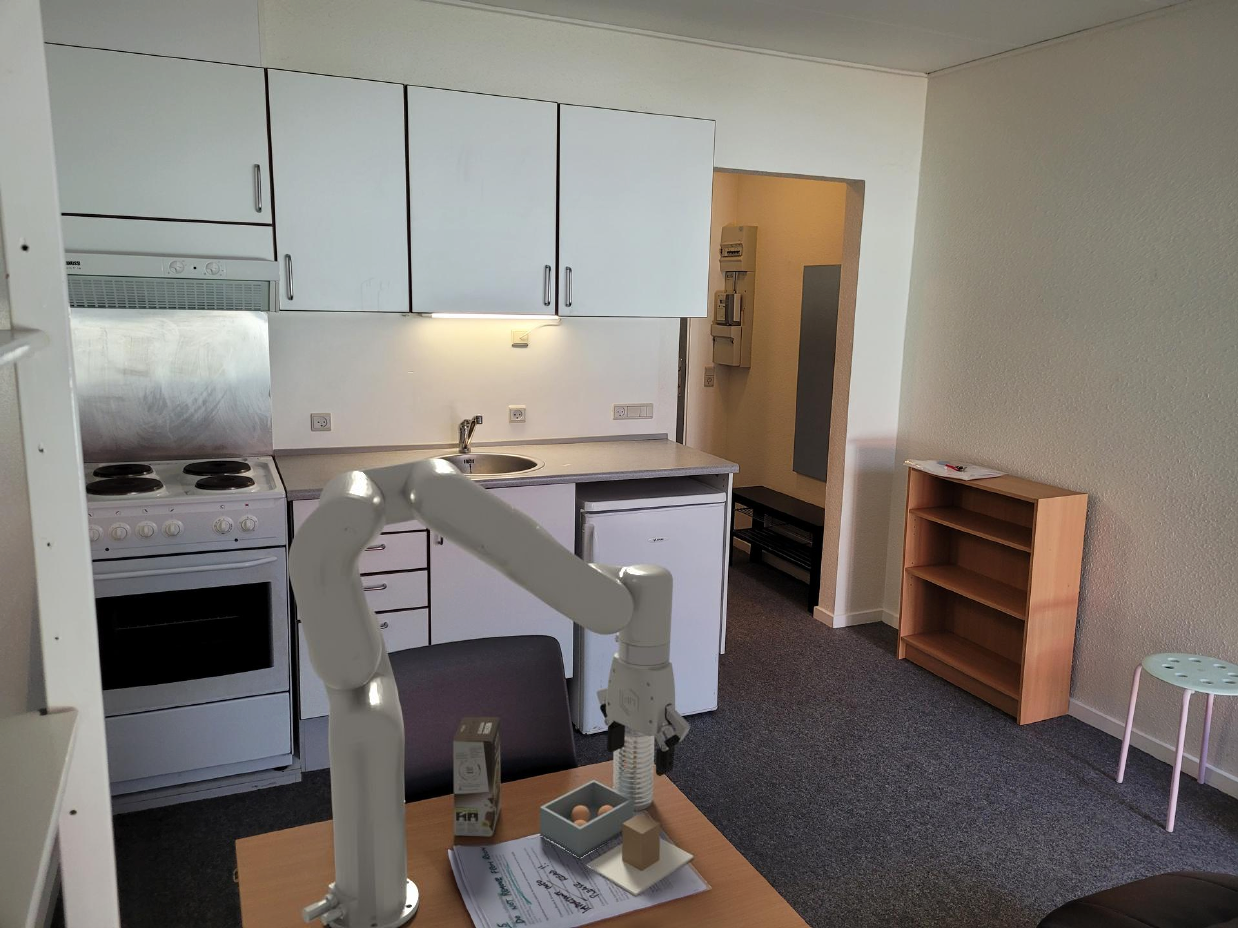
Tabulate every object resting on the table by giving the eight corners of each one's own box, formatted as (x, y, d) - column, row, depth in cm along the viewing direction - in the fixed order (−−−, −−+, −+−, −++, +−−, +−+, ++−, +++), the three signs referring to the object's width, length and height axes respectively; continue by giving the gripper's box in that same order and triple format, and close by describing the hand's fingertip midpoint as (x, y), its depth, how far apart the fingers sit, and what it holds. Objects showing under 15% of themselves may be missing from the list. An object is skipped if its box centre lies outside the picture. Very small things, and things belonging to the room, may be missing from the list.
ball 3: (607, 831, 146) (607, 813, 145) (593, 823, 148) (593, 806, 147) (620, 823, 148) (620, 806, 148) (606, 816, 150) (606, 799, 150)
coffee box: (493, 837, 145) (492, 741, 143) (453, 836, 145) (451, 740, 143) (502, 806, 154) (501, 715, 152) (463, 805, 154) (462, 715, 152)
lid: (635, 898, 131) (636, 854, 130) (586, 868, 138) (587, 827, 137) (693, 860, 141) (694, 819, 139) (644, 834, 147) (645, 795, 146)
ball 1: (580, 831, 146) (580, 813, 145) (567, 823, 148) (567, 806, 147) (593, 823, 148) (593, 806, 147) (580, 816, 150) (580, 799, 149)
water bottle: (630, 787, 161) (632, 650, 157) (661, 800, 157) (664, 661, 153) (604, 802, 156) (605, 662, 152) (635, 817, 152) (637, 672, 147)
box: (580, 859, 140) (580, 829, 139) (540, 836, 146) (540, 806, 145) (633, 828, 148) (633, 799, 147) (593, 807, 154) (593, 779, 154)
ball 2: (580, 846, 142) (580, 828, 141) (566, 838, 144) (566, 821, 143) (593, 838, 144) (594, 821, 143) (580, 831, 146) (580, 813, 145)
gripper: (583, 640, 137) (580, 748, 139) (673, 673, 125) (667, 791, 128) (618, 629, 142) (614, 733, 145) (707, 660, 131) (701, 773, 133)
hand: (639, 760), depth 136 cm, fingers open, 9 cm apart
